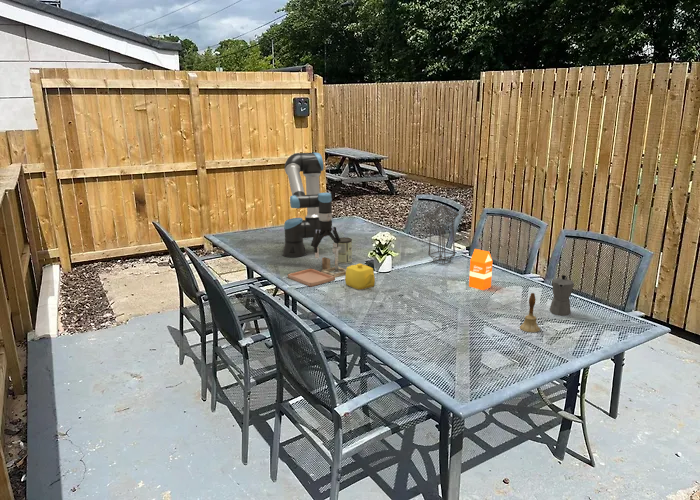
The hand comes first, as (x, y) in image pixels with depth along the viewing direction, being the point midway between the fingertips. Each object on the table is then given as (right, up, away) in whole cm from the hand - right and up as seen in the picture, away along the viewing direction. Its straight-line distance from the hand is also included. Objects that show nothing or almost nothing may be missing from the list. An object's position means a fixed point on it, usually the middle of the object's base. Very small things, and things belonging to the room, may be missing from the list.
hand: (326, 255), depth 310 cm
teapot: (+20, -16, -25) cm, 35 cm away
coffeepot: (+111, -25, -63) cm, 130 cm away
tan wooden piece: (+4, -9, -2) cm, 10 cm away
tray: (-8, -13, -14) cm, 20 cm away
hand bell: (+91, -31, -82) cm, 126 cm away
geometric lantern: (+69, -4, +17) cm, 71 cm away
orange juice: (+83, -16, -28) cm, 89 cm away
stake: (+6, -10, -4) cm, 13 cm away
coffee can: (+10, -4, +19) cm, 22 cm away
